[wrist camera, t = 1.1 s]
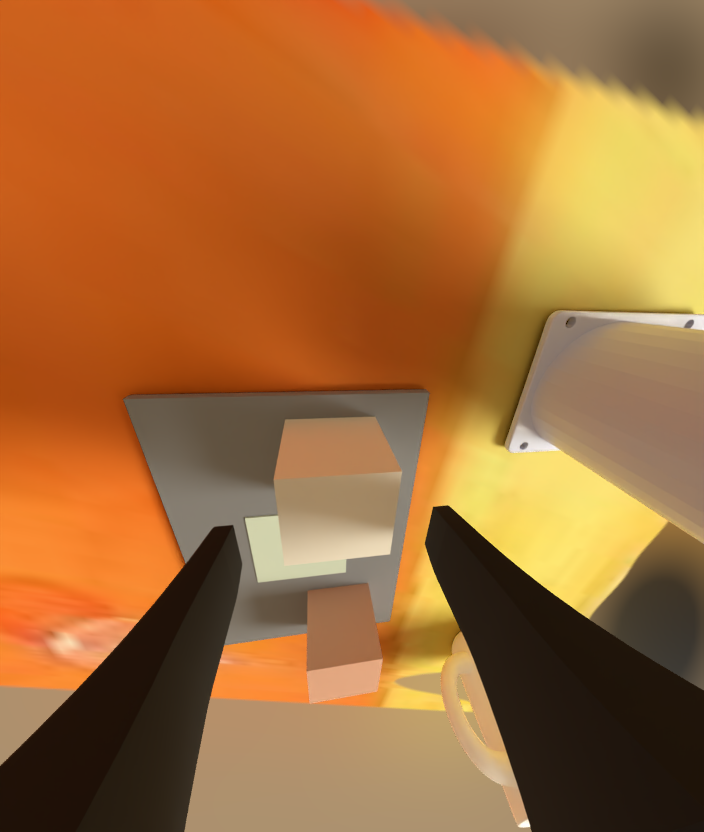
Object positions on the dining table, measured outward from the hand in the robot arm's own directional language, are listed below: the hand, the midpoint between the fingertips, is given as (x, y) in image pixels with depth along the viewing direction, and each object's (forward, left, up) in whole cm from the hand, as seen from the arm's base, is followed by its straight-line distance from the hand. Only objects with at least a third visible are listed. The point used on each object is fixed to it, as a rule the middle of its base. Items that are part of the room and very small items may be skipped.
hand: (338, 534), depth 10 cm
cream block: (0, 0, -5) cm, 5 cm away
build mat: (+2, +7, -6) cm, 9 cm away
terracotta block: (-1, +14, -5) cm, 15 cm away
